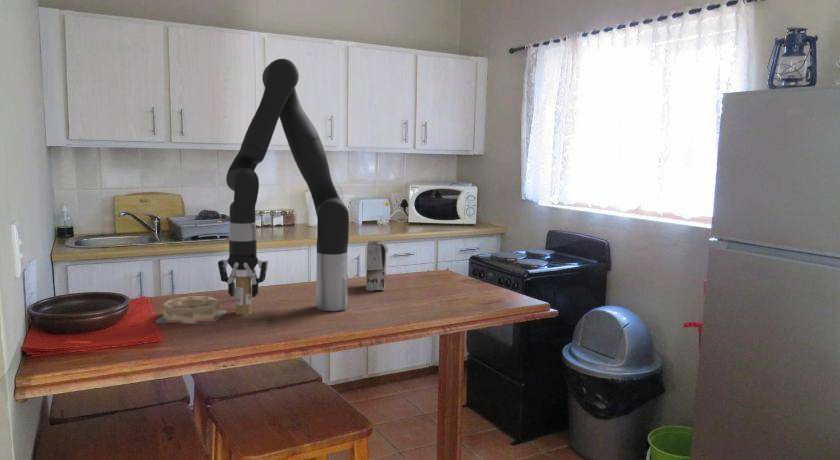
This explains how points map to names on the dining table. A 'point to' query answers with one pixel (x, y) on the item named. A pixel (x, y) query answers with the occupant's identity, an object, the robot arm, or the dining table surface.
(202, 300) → the octagonal faceted ring
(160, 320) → the mat
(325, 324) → the dining table surface
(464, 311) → the dining table surface
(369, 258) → the coffee box
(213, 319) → the reddish pink rod
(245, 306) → the sprinkles bottle
